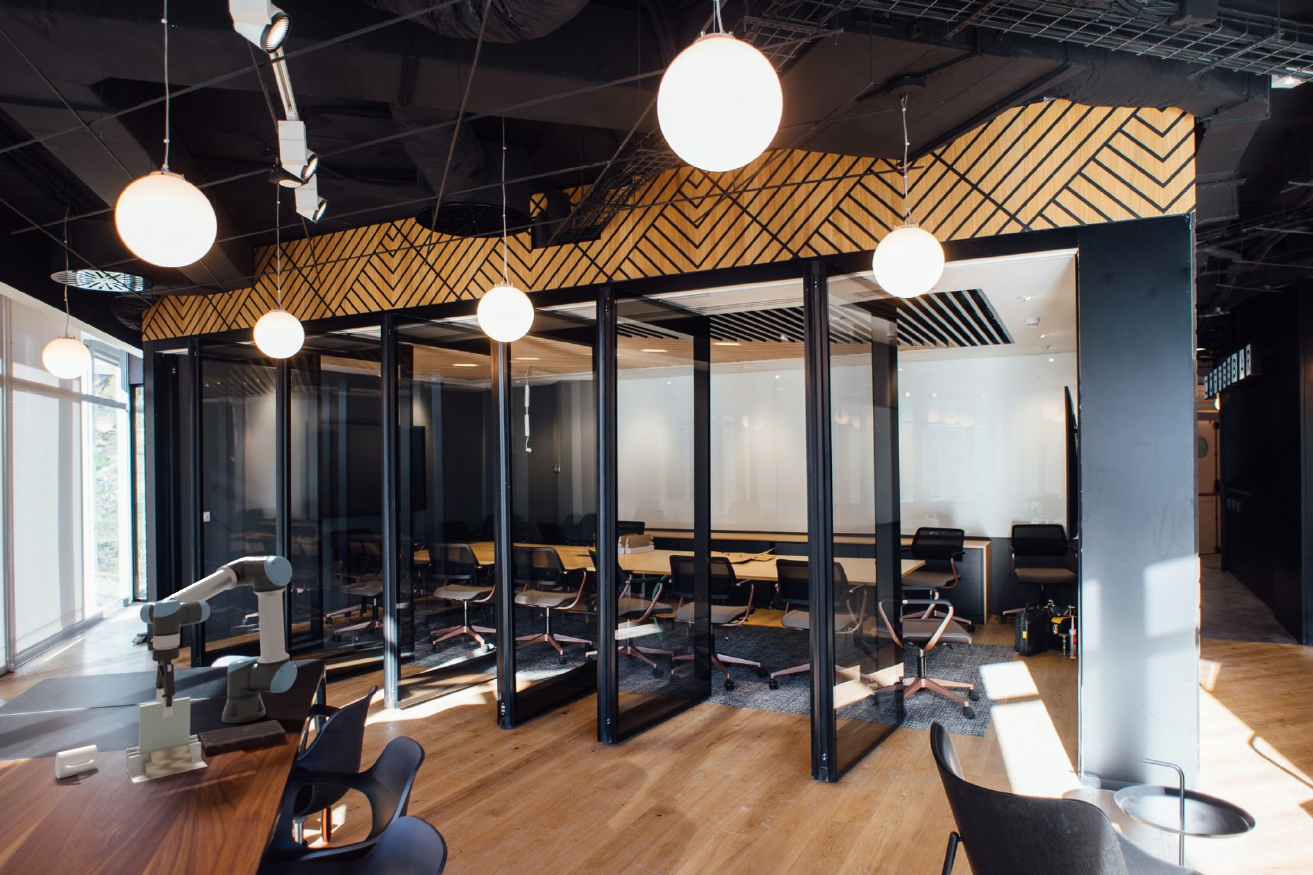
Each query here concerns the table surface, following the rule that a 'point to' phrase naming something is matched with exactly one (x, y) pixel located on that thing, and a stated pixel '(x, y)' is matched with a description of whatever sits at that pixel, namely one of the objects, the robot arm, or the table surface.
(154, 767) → the offcut lower
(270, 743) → the diary
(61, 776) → the mug
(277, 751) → the table surface
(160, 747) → the board
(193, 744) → the rack
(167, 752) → the offcut upper
